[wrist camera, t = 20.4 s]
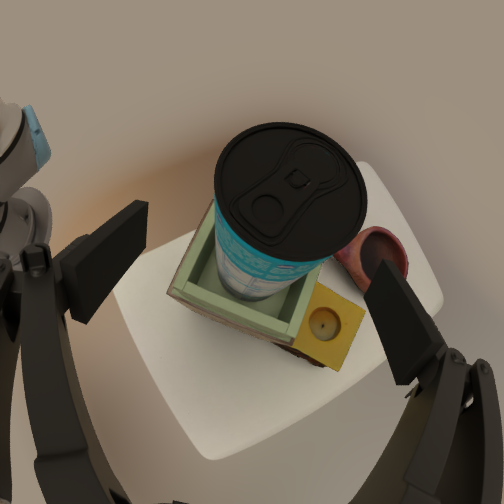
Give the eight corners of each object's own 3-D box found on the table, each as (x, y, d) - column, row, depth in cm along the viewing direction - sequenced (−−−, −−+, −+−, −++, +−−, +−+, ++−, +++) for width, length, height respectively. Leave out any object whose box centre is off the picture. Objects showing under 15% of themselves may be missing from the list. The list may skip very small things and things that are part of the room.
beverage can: (297, 276, 24) (393, 205, 10) (243, 316, 23) (284, 296, 8) (257, 224, 25) (301, 105, 11) (203, 261, 24) (182, 160, 9)
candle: (315, 366, 43) (339, 374, 34) (265, 340, 44) (278, 343, 34) (341, 315, 46) (369, 311, 37) (294, 288, 47) (313, 278, 37)
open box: (171, 293, 23) (158, 283, 18) (216, 202, 26) (216, 172, 21) (288, 342, 23) (307, 345, 18) (322, 247, 26) (345, 227, 21)
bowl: (378, 229, 52) (399, 214, 45) (401, 286, 49) (425, 278, 42) (313, 252, 49) (329, 237, 42) (338, 317, 46) (359, 314, 39)
